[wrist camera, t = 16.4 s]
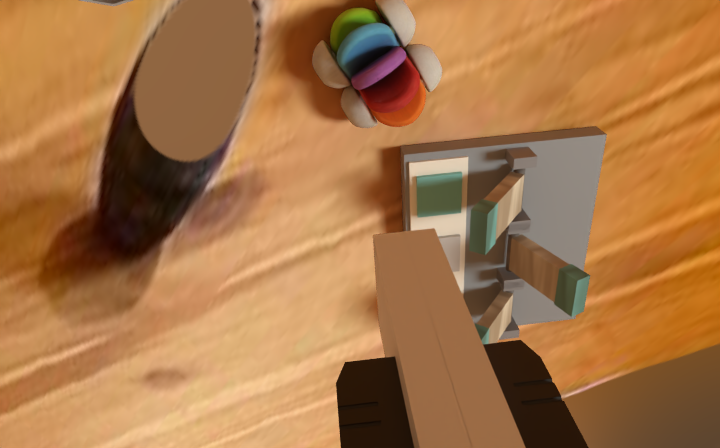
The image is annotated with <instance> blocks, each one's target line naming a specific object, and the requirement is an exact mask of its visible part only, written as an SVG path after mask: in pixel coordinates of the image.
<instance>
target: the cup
mask: <svg viewBox="0 0 720 448" xmlns="http://www.w3.org/2000/svg"><path fill="white" fill-rule="evenodd" d="M80 1H86V2H92V3H97V4H103V5H109V6H116V5H120V4H123V3H126V2H129V1H132V0H80Z"/></svg>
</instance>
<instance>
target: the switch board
mask: <svg viewBox="0 0 720 448" xmlns="http://www.w3.org/2000/svg"><path fill="white" fill-rule="evenodd" d="M606 135H607V134H605V133H604V132H603V131H601V130H600V129H599V128H597V127H596V126H595V127H585V128H576V129H566V130H556V131H546V132H536V133H526V134H516V135H506V136H496V137H486V138H476V139H466V140H456V141H446V142H436V143H426V144H416V145H406V146H400V152H401V183H402V214H403V232H404V231H413V230H423V229H432V228H435V231H436V233H437V235H438V238H439V240H440V243H441V245H442V247H443V250H444V252H445V255H446V257H447V259H448V262H449V264H450V267H451V269H452V271H453V274H454V276H455V279H456V281H457V284H458V286H459V288H460V291H461V293H462V296H463V298H464V300H465V303H466V305H467V308H468V310H469V312H470V315H471V317H472V320H473V322H474V324H475V323H476V324H477V323H478V321H479V320H480V319H481V317H482V316H483V314H484V313H485V312H486V310H487V309H488V308H489V306H490V305H491V304H492V302H493V301H494V300H495V298H496V297H497V295H498V294H499V293H500V291H501V290H503V292H504V291H512V290H514V297H513V307H512V318H511V322H510V323H509V325H508V326H507V328H506V329H505V331H504V332H503V334H502V335H501V337H500V338H499V340H500V339H509V338H517V337H519V328H518V326H517V325H526V324H534V323H543V322H551V321H560V320H568V319H575V317H576V315H575V316H573V317H571V316H569V315H568V314H567V313H565V312H564V311H562V310H561V309H560V308H558V307H557V306H556V305H554V302H553V301H551V300H550V299H549V298H547V297H546V296H545V295H543V294H542V293H540V292H539V291H538V290H536V289H535V288H534V287H532V286H531V285H529V284H528V283H527V282H525V281H524V280H523V279H521V278H520V277H518V276H517V275H516V274H514V273H513V272H508V271H507V270H506V269H505V268H506V256H507V244H508V235H509V234H518V233H519V235H521V234H522V235H524V236H526V237H527V238H529V239H530V240H532V241H533V242H535V243H537V244H538V245H540V246H541V247H543V248H544V249H546V250H548V251H549V252H551V253H552V254H554V255H555V256H557V257H559V258H560V259H562V260H563V261H565V262H567V263H568V264H573V265H574V266H576V267H578V268H579V269H581V270H582V271H583V270H584V264H585V258H586V253H587V247H588V241H589V235H590V229H591V223H592V217H593V211H594V206H595V200H596V194H597V188H598V182H599V176H600V170H601V164H602V159H603V153H604V147H605V141H606ZM524 168H526V169H525V180H524V190H523V201H522V211H521V213H518V215H517V216H516V217H515V218H514V219H513V220H512V222H511V223H510V224H509V225H508V226H507V228H506V229H505V230H504V231H503V232H502V233H501V235H500V236H499V237H498V238H497V239H496V241H495V244H494V246H493V247H492V248H491V249H490V250H489V251H488V253H487V254H486V255H483V254H479V253H476V252H472V251H469V242H470V217H471V209H472V208H473V207H474V206H475V205H476V204H477V203H478V202H479V201H480V200H481V199H484V198H485V197H486V196H487V195H488V194H489V193H490V192H491V191H492V190H493V189H494V188H495V187H496V186H497V185H498V184H499V183H500V182H501V181H502V180H503V179H504V178H505V177H506V176H507V175H508V174H509V173H510V172H513V170H515V169H524Z"/></svg>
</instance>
